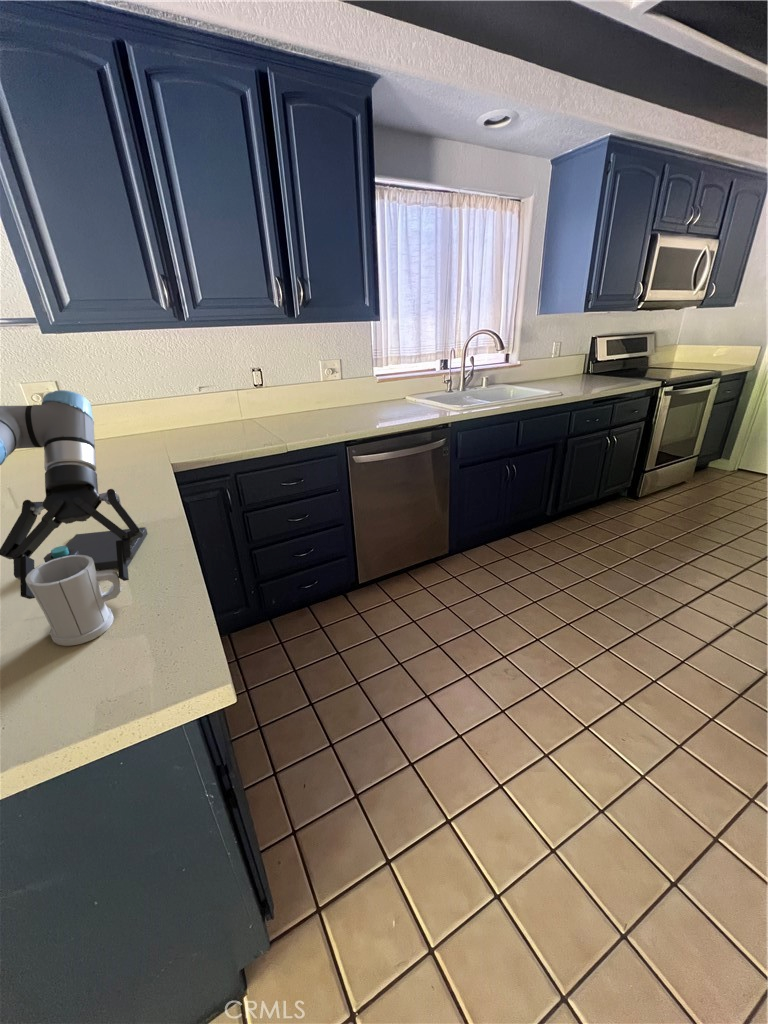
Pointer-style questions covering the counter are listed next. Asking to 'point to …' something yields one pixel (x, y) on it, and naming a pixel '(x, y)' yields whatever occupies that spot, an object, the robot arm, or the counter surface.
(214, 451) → the counter surface
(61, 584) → the cup
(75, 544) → the scale
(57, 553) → the scale button
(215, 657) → the counter surface
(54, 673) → the counter surface
